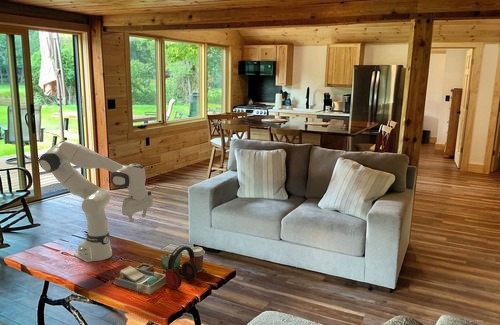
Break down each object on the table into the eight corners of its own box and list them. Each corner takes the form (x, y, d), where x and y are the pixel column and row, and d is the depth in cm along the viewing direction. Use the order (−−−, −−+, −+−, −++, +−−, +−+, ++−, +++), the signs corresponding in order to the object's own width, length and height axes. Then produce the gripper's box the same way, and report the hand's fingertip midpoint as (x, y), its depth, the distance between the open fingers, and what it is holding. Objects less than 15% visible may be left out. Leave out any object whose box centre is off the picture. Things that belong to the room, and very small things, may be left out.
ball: (152, 290, 197) (153, 281, 195) (144, 286, 199) (145, 277, 197) (158, 285, 201) (160, 277, 200) (151, 281, 203) (152, 273, 202)
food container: (164, 276, 211) (164, 258, 209) (160, 272, 216) (159, 254, 214) (185, 271, 218) (185, 253, 216) (181, 266, 223) (181, 250, 221)
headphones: (177, 293, 194) (176, 255, 190) (162, 287, 199) (161, 250, 195) (200, 279, 208) (200, 243, 205) (185, 274, 214) (185, 239, 210)
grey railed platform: (115, 284, 201) (114, 278, 201) (134, 273, 214) (134, 267, 213) (136, 290, 195) (136, 284, 195) (155, 279, 208) (155, 273, 207)
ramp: (120, 277, 204) (119, 270, 203) (129, 272, 210) (129, 265, 209) (135, 282, 200) (134, 274, 199) (144, 276, 206) (144, 269, 205)
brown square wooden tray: (134, 271, 216) (134, 267, 216) (143, 266, 222) (143, 262, 222) (144, 274, 213) (144, 270, 213) (153, 268, 219) (153, 265, 219)
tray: (136, 290, 195) (136, 283, 195) (155, 279, 208) (154, 271, 207) (149, 294, 192) (149, 287, 191) (167, 282, 204) (167, 275, 204)
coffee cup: (198, 274, 214) (198, 253, 211) (184, 270, 218) (184, 250, 216) (208, 268, 221) (208, 248, 219) (195, 264, 226) (194, 244, 224)
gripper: (128, 199, 200) (128, 225, 203) (154, 190, 219) (154, 215, 221) (118, 197, 203) (119, 223, 206) (145, 189, 221) (145, 213, 224)
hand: (137, 219), depth 213 cm, fingers open, 8 cm apart
